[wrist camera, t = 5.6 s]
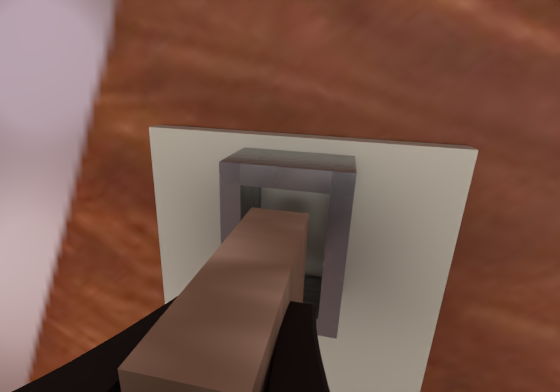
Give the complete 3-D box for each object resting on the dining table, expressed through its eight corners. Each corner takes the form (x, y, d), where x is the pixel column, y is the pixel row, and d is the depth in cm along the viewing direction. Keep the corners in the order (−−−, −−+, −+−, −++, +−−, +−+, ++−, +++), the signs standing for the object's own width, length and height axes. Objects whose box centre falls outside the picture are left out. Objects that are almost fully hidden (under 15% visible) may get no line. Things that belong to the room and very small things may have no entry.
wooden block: (308, 213, 11) (250, 397, 4) (302, 312, 12) (248, 570, 6) (251, 207, 11) (117, 368, 5) (251, 303, 12) (144, 537, 6)
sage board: (469, 145, 13) (478, 150, 12) (411, 396, 18) (414, 413, 17) (160, 124, 16) (148, 126, 15) (178, 349, 20) (170, 362, 19)
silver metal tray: (354, 155, 13) (356, 173, 11) (338, 293, 16) (336, 338, 13) (244, 147, 14) (218, 161, 11) (243, 279, 16) (222, 318, 14)
